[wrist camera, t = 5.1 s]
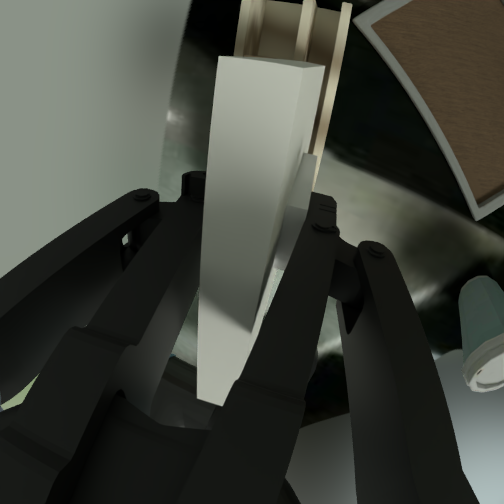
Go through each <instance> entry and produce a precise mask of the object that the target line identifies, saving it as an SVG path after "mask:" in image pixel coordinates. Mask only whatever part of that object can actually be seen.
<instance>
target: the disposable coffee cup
mask: <svg viewBox="0 0 504 504" xmlns="http://www.w3.org/2000/svg"><path fill="white" fill-rule="evenodd" d="M458 302H459V311H460V320H461V331H462V344H463V360H464V361H463V362H464V366H463V368H462V373H463V376H464V378H465V381H466V384H467V385H468V386H470V388H471V390H472V391H477V392H486V391H491V390H496V389H498V388H501V387H503V386H504V292H503V291H502V289H501V288H500V286H499V285H498V284H497V282H496V281H494V280H493V279H491V278H490V277H488V276H476V277H474V278H472V279H470V280H468V281H467V283H466V284H465V285H464V286H463V287H462V288H461V292H460V295H459V300H458Z"/></svg>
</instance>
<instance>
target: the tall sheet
mask: <svg viewBox="0 0 504 504" xmlns="http://www.w3.org/2000/svg"><path fill="white" fill-rule="evenodd" d="M324 70H325V66H323V65H319V64H314V63H309V62H303V61H294V60H284V59H273V58H259V57H239V56H219V59H218V66H217V75H216V83H215V92H214V100H213V110H212V119H211V129H210V139H209V150H208V161H207V173H206V185H205V199H204V213H203V228H202V245H201V263H200V285H199V312H198V350H197V399H201V400H204V401H207V402H210V403H213V404H217V405H220V406H223V404H224V402H225V400H226V397H227V395H228V393H229V391H230V389H231V387H232V385H233V383H234V382H235V380H238V378H239V377H240V375H241V373H242V370H243V368H244V366H245V364H246V361H247V359H248V357H249V354H250V352H251V350H252V347H253V345H254V343H255V340H256V338H257V336H258V333H259V330H260V327H261V324H262V320H263V317H264V314H265V310H266V307H267V303H268V300H269V297H270V293H271V290H272V286H273V283H274V280H275V276H276V273H277V269H276V268H273V265H274V261H275V256H276V252H277V247H278V242H279V238H280V233H281V229H282V224H283V219H284V215H285V210H286V205H287V202H288V199H289V196H290V193H291V190H292V187H293V184H294V181H295V178H296V175H297V172H298V169H299V166H300V163H301V160H302V156H303V153H308V149H309V144H310V140H311V135H312V130H313V125H314V120H315V116H316V111H317V106H318V101H319V96H320V91H321V86H322V81H323V75H324Z"/></svg>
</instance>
